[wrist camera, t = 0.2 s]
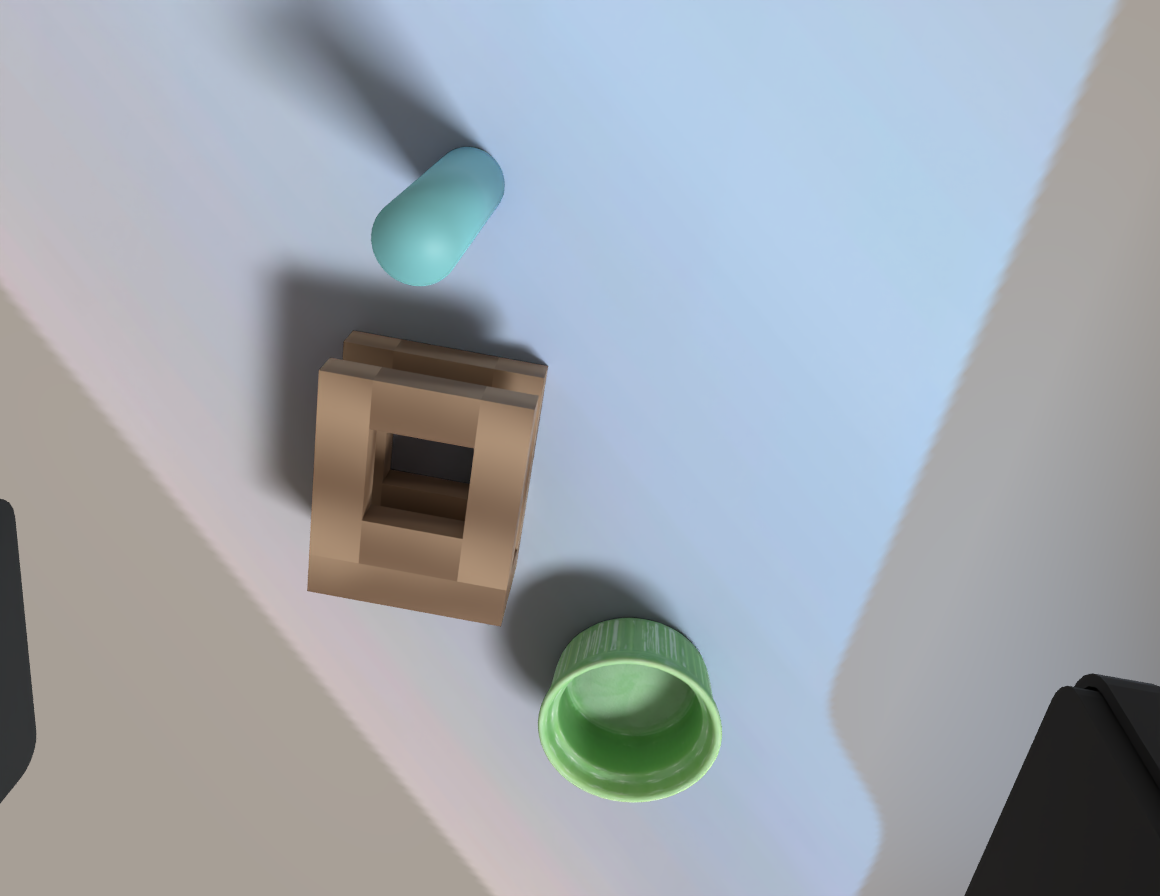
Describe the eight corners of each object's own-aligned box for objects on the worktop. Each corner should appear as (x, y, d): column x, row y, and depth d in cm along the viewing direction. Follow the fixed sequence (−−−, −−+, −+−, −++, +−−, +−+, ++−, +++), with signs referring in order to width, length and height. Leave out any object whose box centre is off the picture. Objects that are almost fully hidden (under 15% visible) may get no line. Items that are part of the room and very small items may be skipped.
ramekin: (680, 763, 56) (681, 824, 52) (525, 712, 55) (514, 770, 51) (745, 639, 52) (751, 695, 48) (579, 583, 51) (571, 635, 47)
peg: (437, 140, 42) (374, 189, 33) (508, 153, 42) (464, 206, 33) (430, 211, 44) (368, 277, 35) (499, 224, 44) (455, 293, 35)
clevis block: (353, 330, 46) (318, 370, 42) (548, 366, 46) (534, 409, 42) (339, 535, 51) (307, 590, 47) (515, 567, 51) (500, 626, 47)
